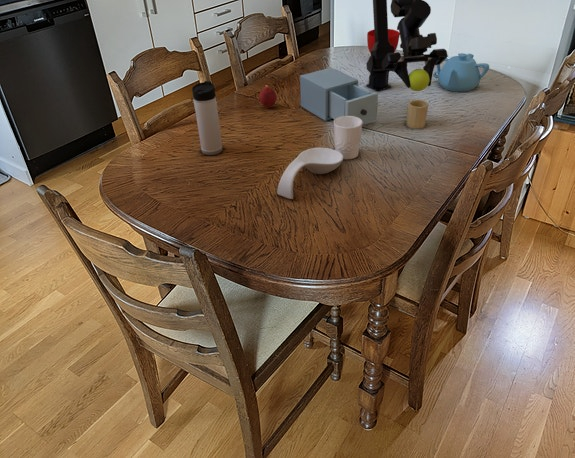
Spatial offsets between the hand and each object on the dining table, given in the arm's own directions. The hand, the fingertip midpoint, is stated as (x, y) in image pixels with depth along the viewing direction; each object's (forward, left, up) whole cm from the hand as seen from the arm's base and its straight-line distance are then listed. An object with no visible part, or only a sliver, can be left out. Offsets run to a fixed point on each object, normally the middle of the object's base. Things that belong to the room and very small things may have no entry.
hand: (419, 86), depth 148 cm
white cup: (+28, +2, -13) cm, 31 cm away
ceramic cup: (-33, -54, -8) cm, 64 cm away
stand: (-1, -1, -13) cm, 13 cm away
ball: (0, -1, +1) cm, 2 cm away
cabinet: (+14, -27, -13) cm, 33 cm away
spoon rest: (+44, +7, -13) cm, 46 cm away
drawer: (+14, -15, -12) cm, 24 cm away
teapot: (-36, -16, -13) cm, 42 cm away
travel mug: (+59, -23, -13) cm, 64 cm away
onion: (+30, -40, -13) cm, 52 cm away
